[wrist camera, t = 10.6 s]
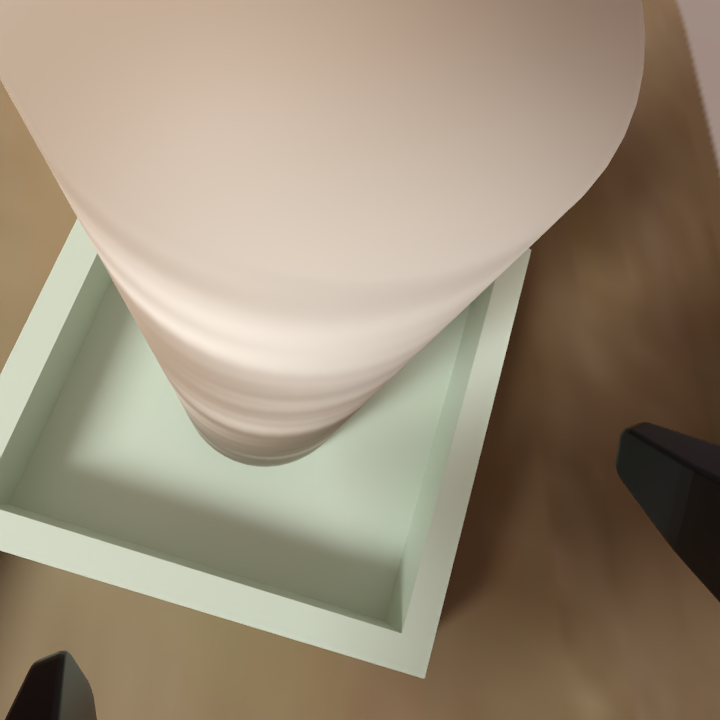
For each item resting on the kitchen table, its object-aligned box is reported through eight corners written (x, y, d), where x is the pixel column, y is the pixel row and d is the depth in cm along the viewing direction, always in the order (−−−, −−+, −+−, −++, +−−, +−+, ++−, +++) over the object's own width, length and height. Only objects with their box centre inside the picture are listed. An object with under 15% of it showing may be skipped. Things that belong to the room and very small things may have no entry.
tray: (497, 281, 20) (531, 249, 18) (398, 656, 17) (424, 678, 15) (148, 150, 19) (135, 99, 17) (-28, 525, 16) (-75, 527, 14)
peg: (378, 385, 18) (753, 16, 5) (266, 501, 17) (350, 442, 3) (267, 278, 18) (328, -368, 5) (148, 384, 17) (-207, -103, 4)
